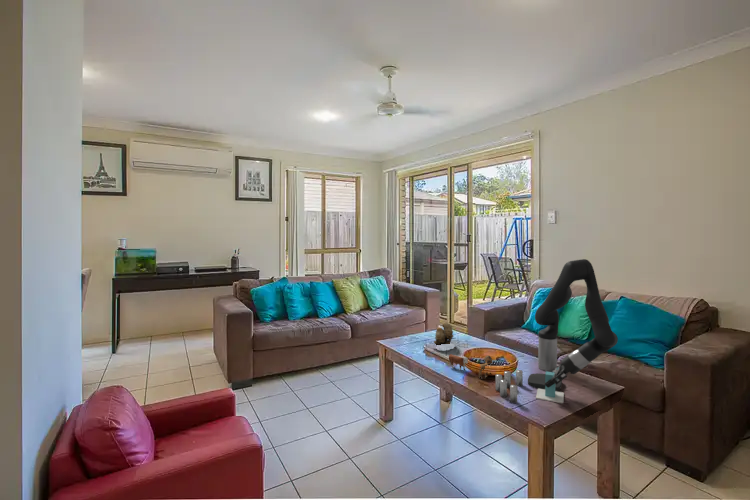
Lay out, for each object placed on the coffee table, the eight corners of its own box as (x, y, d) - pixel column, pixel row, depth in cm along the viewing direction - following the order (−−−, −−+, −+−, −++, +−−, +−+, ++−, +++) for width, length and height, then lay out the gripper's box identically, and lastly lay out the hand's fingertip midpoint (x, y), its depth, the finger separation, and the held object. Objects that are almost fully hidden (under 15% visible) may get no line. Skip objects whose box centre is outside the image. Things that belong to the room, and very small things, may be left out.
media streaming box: (559, 393, 173) (559, 387, 173) (526, 386, 181) (526, 380, 181) (562, 382, 186) (563, 376, 185) (531, 376, 193) (531, 371, 193)
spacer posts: (499, 380, 188) (499, 366, 188) (522, 384, 183) (522, 370, 183) (490, 398, 168) (490, 383, 168) (516, 403, 163) (516, 388, 162)
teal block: (545, 392, 172) (545, 371, 172) (555, 394, 170) (555, 372, 170) (545, 395, 169) (545, 374, 168) (554, 397, 167) (555, 375, 166)
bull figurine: (466, 373, 198) (466, 358, 197) (447, 366, 208) (446, 352, 208) (471, 371, 200) (471, 357, 200) (452, 365, 211) (452, 350, 211)
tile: (537, 389, 177) (537, 388, 177) (563, 393, 172) (563, 392, 172) (535, 398, 167) (535, 397, 167) (563, 403, 162) (563, 402, 162)
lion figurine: (484, 369, 203) (484, 353, 203) (494, 371, 201) (494, 355, 200) (476, 379, 191) (476, 361, 190) (487, 381, 188) (487, 363, 187)
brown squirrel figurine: (444, 342, 254) (444, 318, 253) (459, 346, 246) (459, 321, 245) (428, 348, 241) (428, 322, 240) (444, 352, 233) (444, 326, 232)
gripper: (568, 350, 171) (541, 370, 177) (568, 359, 159) (539, 381, 165) (582, 363, 169) (553, 383, 175) (582, 373, 157) (552, 395, 163)
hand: (546, 382), depth 170 cm, fingers open, 8 cm apart
